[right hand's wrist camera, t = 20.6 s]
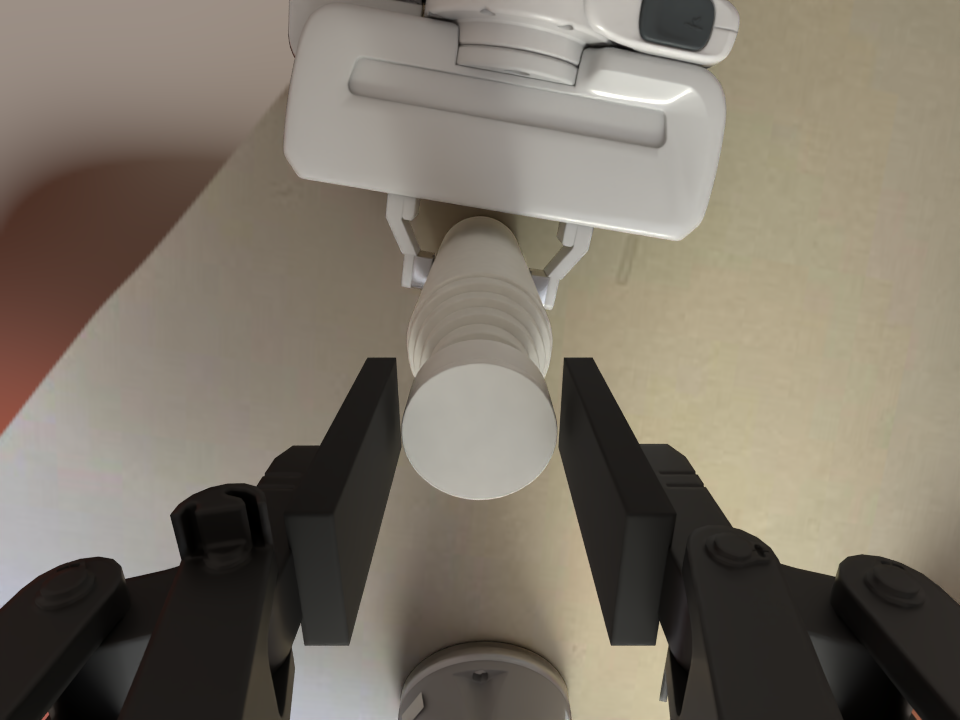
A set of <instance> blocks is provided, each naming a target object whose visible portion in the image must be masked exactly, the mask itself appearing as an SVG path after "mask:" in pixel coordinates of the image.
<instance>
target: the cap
mask: <svg viewBox="0 0 960 720" xmlns="http://www.w3.org/2000/svg"><path fill="white" fill-rule="evenodd" d="M401 435H402V443H403V446H404V450H405V453H406V455H407V457H408V460H409V461H410V463H411V464H412V466H413V468H414V469H415V470H416V471H417V473H418V474H419V475H420V476H421V477H422V478H423V479H424V480H425V481H427V482H428V483H429V484H431V485H432V486H433V487H435V488H437V489H439V490H440V491H442V492H445V493H447V494H449V495H453V496H456V497H459V498H465V499H474V500H485V499H494V498H499V497H503V496H506V495H509V494H512V493H514V492H516V491H518V490H520V489H522V488H524V487H525V486H527V485H528V484H530V483H531V482H532V481H533V480H534V479H536V478H537V477H538V476H539V475H540V473H541V472H542V471H543V470H544V469H545V467H546V466H547V464H548V462H549V461H550V459H551V457H552V454H553V452H554V449H555V445H556V440H557V422H556V416H555V413H554V409H553V405H552V402H551V398H550V395H549V391H548V388H547V385H546V382H545V379H544V377H543V375H542V373H541V372H540V370H539V369H538V367H537V366H536V365H535V364H534V363H533V361H532V360H531V359H529V358H528V357H527V356H526V355H525V354H523V353H522V352H520V351H519V350H517V349H516V348H513V347H511V346H509V345H507V344H504V343H501V342H497V341H492V340H482V339H478V340H467V341H461V342H458V343H455V344H452V345H450V346H447V347H445V348H443V349H442V350H440V351H438V352H437V353H435V354H434V355H433V356H432V357H430V358H429V359H428V360H427V361H426V362H425V363H424V364H423V366H422V367H421V368H420V370H419V371H418V373H417V375H416V377H415V379H414V381H413V384H412V387H411V390H410V394H409V397H408V401H407V404H406V408H405V411H404V415H403V420H402V428H401Z"/></svg>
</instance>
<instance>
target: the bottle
mask: <svg viewBox="0 0 960 720" xmlns="http://www.w3.org/2000/svg"><path fill="white" fill-rule="evenodd" d="M478 339H482V340H492V341H497V342H501V343H504V344H507V345H509V346H511V347H513V348H516V349H517V350H519V351H520V352H522V353H523V354H525V355H526V356H527V357H528V358H529V359H531V360H532V361H533V363H534V364H535V365H536V366H537V367H538V369H539V370H540V372H541V373H542V375H543V377H545V375H546V373H547V370H548V367H549V364H550V359H551V351H552V329H551V325H550V321H549V318H548V316H547V313H546V311H545V308H544V306H543V303H542V301H541V299H540V296H539V294H538V291H537V289H536V286H535V284H534V281H533V279H532V276H531V274H530V271H529V269H528V267H527V264H526V262H525V259H524V257H523V254H522V252H521V249H520V247H519V244H518V242H517V239H516V238H515V236H514V234H513V233H512V232H511V230H510V229H509V228H508V227H507V226H505V225H504V224H503V223H501V222H500V221H498V220H495V219H493V218H489V217H483V216H476V217H470V218H467V219H464V220H462V221H460V222H458V223H457V224H455V225H454V226H453V227H452V228H451V229H450V230H449V231H448V232H447V234H446V235H445V237H444V239H443V241H442V243H441V245H440V248H439V250H438V253H437V255H436V257H435V260H434V262H433V265H432V267H431V270H430V272H429V274H428V277H427V279H426V282H425V284H424V287H423V289H422V291H421V294H420V296H419V299H418V301H417V303H416V306H415V308H414V311H413V313H412V316H411V319H410V321H409V325H408V330H407V351H408V359H409V363H410V367H411V370H412V373H413V375H414V377H416V375H417V373H418V371H419V370H420V368H421V367H422V366H423V364H424V363H425V362H426V361H427V360H428V359H429V358H430V357H432V356H433V355H434V354H435V353H437V352H438V351H440V350H442V349H443V348H445V347H447V346H450V345H452V344H455V343H458V342H461V341H467V340H478Z"/></svg>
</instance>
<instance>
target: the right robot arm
mask: <svg viewBox="0 0 960 720" xmlns="http://www.w3.org/2000/svg"><path fill="white" fill-rule="evenodd" d="M400 451H401V431H400V414H399V398H398V382H397V366H396V358H367V360H366V361H365V363H364V365H363V367H362V369H361V371H360V373H359V374H358V376H357V378H356V380H355V382H354V384H353V386H352V387H351V389H350V391H349V393H348V395H347V397H346V398H345V400H344V402H343V404H342V406H341V408H340V410H339V411H338V413H337V415H336V417H335V419H334V421H333V422H332V424H331V426H330V428H329V430H328V432H327V434H326V435H325V437H324V439H323V441H322V443H321V445H320V446H292V447H290V448H289V449H287V450H286V451H285V452H283V453H282V454H280V455H279V456H278V457H276V458H275V459H274V460H273V462H272V463H271V465H270V466H269V468H268V469H267V471H266V472H265V476H263V477H262V478H261V480H260V482H259V483H258V485H257V487H256V486H252V485H249V484H245V483H235V484H224V485H219V486H215V487H210V488H208V489H205V490H203V491H200V492H198V493H196V494H193V495H192V496H190V497H189V498H187V499H186V500H184V501H183V502H181V503H180V504H179V505H178V506H177V507H176V508H175V510H174V511H173V512H172V513H171V515H170V517H171V521H172V525H173V528H174V532H175V536H176V540H177V544H178V548H179V552H180V556H181V563H180V565H179V566H178V567H174V568H171V569H167V570H164V571H159V572H155V573H150V574H146V575H141V576H137V577H132V578H128V579H125V577H124V574H123V571H122V567H121V566H120V565H119V564H118V563H117V562H116V561H115V560H113V559H109V558H104V557H92V558H83V559H78V560H75V561H71V562H69V563H65V564H62V565H59V566H57V567H55V568H53V569H51V570H50V571H48V572H46V573H44V574H42V575H40V576H38V577H37V578H35V579H34V580H33V581H31V582H30V583H29V584H27V585H26V586H25V587H24V588H22V589H21V590H20V591H19V592H18V593H17V594H16V595H15V596H14V597H12V598H11V599H10V600H9V601H8V602H7V603H6V604H5V605H4V606H3V607H2V608H1V609H0V720H42V718H43V717H44V716H45V714H46V713H47V712H49V716H48V717H47V718H46V720H290V712H291V702H292V692H293V682H294V672H295V665H294V658H293V652H292V644H293V642H294V639H295V636H296V634H297V631H298V628H299V626H300V623H301V626H302V632H303V639H304V645H305V646H349V644H350V640H351V636H352V632H353V629H354V625H355V621H356V617H357V613H358V610H359V606H360V602H361V598H362V594H363V591H364V587H365V583H366V579H367V576H368V572H369V568H370V564H371V560H372V557H373V553H374V549H375V545H376V541H377V538H378V534H379V530H380V526H381V523H382V519H383V515H384V511H385V507H386V504H387V500H388V496H389V492H390V489H391V485H392V481H393V477H394V473H395V470H396V466H397V462H398V458H399V454H400ZM559 451H560V454H561V458H562V462H563V466H564V470H565V473H566V477H567V481H568V485H569V489H570V492H571V496H572V500H573V504H574V507H575V511H576V515H577V519H578V523H579V526H580V530H581V534H582V538H583V541H584V545H585V549H586V553H587V557H588V560H589V564H590V568H591V572H592V576H593V579H594V583H595V587H596V591H597V594H598V598H599V602H600V606H601V610H602V613H603V617H604V621H605V625H606V628H607V632H608V636H609V640H610V644H611V646H655V645H656V639H657V632H658V626H659V620H660V623H661V626H662V628H663V631H664V634H665V636H666V639H667V641H668V644H669V646H668V652H667V658H666V663H665V669H664V675H663V681H662V686H661V693H660V700H659V701H664V702H667V696H668V701H669V711H670V720H917V719H916V718H915V716H914V715H913V714H912V710H913V709H914V711H915V712H916V713H917V714H918V716H919V717H920V718H921V719H922V720H960V605H959V604H958V603H957V602H955V601H954V600H953V599H952V598H951V597H950V596H949V595H948V594H947V593H946V592H945V591H944V590H943V589H942V588H940V587H939V586H938V585H937V584H935V583H934V582H933V581H931V580H930V579H929V578H927V577H926V576H925V575H923V574H922V573H920V572H918V571H916V570H914V569H912V568H910V567H908V566H906V565H904V564H902V563H899V562H897V561H894V560H890V559H887V558H884V557H880V556H871V555H863V554H861V555H855V556H850V557H847V558H846V559H845V560H843V561H842V562H841V563H840V564H839V567H838V571H837V574H836V577H834V576H829V575H825V574H820V573H816V572H811V571H807V570H802V569H798V568H794V567H790V566H787V565H783V564H780V562H779V559H778V558H777V557H776V555H775V554H774V552H773V551H772V549H771V548H770V547H769V546H768V545H766V544H765V543H764V542H762V541H761V540H760V539H759V538H757V537H755V536H753V535H751V534H749V533H747V532H745V531H743V530H740V529H736V528H733V527H732V525H731V524H730V523H729V521H728V520H727V518H726V517H725V515H724V514H723V512H722V511H721V509H720V508H719V506H718V505H717V503H716V502H715V500H714V499H713V497H712V496H711V494H710V493H709V491H708V490H707V488H706V487H704V484H703V482H702V481H701V479H700V478H699V476H698V475H696V474H695V470H694V469H693V467H692V466H691V464H690V463H689V461H688V460H687V458H686V457H685V456H684V455H682V454H681V453H679V452H678V451H677V450H675V449H674V448H672V447H671V446H670V445H668V444H639V443H638V441H637V439H636V437H635V435H634V434H633V432H632V430H631V428H630V426H629V424H628V422H627V421H626V419H625V417H624V415H623V413H622V411H621V410H620V408H619V406H618V404H617V402H616V400H615V398H614V397H613V395H612V393H611V391H610V389H609V387H608V386H607V384H606V382H605V380H604V378H603V376H602V374H601V373H600V371H599V369H598V367H597V365H596V363H595V361H594V360H593V358H564V366H563V382H562V398H561V415H560V431H559ZM398 720H571V710H570V704H569V698H568V692H567V688H566V685H565V682H564V680H563V679H562V677H561V675H560V674H559V672H558V671H557V670H556V669H555V668H554V667H553V666H552V665H551V664H550V663H549V662H548V661H546V660H545V659H544V658H542V657H541V656H539V655H537V654H536V653H533V652H531V651H529V650H527V649H524V648H522V647H518V646H515V645H511V644H506V643H499V642H470V643H464V644H459V645H455V646H451V647H448V648H445V649H443V650H441V651H438V652H436V653H434V654H432V655H431V656H429V657H428V658H426V659H425V660H423V661H422V662H421V663H420V664H418V665H417V666H416V667H415V668H414V670H413V671H412V672H411V673H410V675H409V676H408V678H407V680H406V682H405V684H404V686H403V689H402V694H401V701H400V708H399V717H398Z"/></svg>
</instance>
